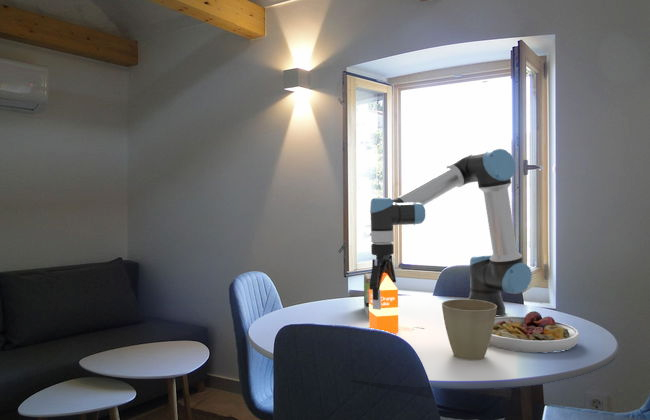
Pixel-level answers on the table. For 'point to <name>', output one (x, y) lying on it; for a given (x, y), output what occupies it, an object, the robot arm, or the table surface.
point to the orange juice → (385, 307)
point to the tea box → (366, 292)
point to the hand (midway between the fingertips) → (383, 305)
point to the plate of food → (532, 334)
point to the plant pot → (469, 326)
